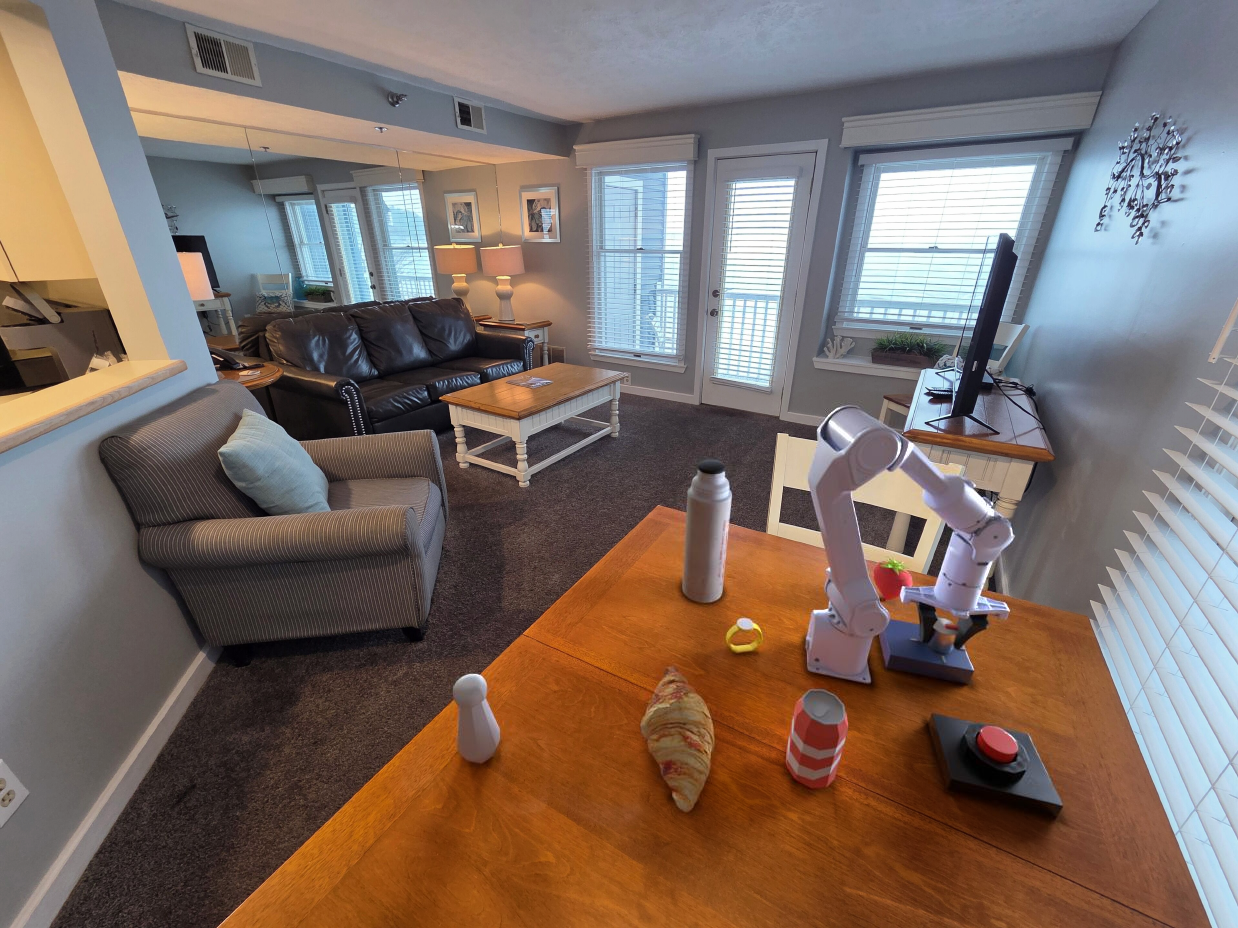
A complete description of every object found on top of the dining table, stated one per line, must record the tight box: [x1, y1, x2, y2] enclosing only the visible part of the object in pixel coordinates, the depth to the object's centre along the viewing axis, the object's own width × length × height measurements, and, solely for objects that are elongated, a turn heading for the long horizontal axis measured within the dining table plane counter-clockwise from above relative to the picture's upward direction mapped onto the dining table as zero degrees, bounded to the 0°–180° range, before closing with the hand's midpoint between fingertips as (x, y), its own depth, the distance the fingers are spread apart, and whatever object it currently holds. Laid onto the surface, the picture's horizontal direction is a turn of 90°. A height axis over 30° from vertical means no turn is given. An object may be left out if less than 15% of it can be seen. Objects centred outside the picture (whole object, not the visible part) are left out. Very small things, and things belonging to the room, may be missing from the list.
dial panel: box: [878, 618, 975, 685], centre depth 84 cm, size 12×9×3 cm
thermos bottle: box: [681, 459, 733, 604], centre depth 95 cm, size 8×8×28 cm
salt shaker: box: [452, 673, 501, 765], centre depth 67 cm, size 6×6×13 cm
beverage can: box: [785, 688, 849, 789], centre depth 65 cm, size 6×6×12 cm
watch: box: [725, 617, 764, 654], centre depth 85 cm, size 6×3×6 cm, turn 95°
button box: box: [927, 712, 1064, 818], centre depth 67 cm, size 12×10×4 cm
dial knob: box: [926, 617, 959, 653], centre depth 82 cm, size 4×4×4 cm
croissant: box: [639, 666, 715, 813], centre depth 70 cm, size 21×10×8 cm, turn 1°
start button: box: [977, 726, 1018, 763], centre depth 66 cm, size 4×4×2 cm
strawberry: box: [872, 556, 913, 601], centre depth 96 cm, size 6×8×10 cm
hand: (939, 641), depth 83 cm, fingers open, 4 cm apart
